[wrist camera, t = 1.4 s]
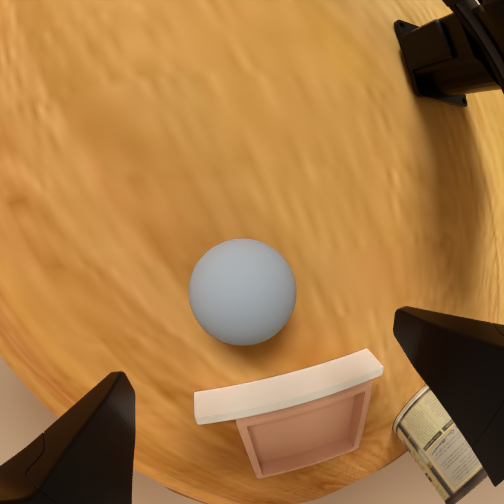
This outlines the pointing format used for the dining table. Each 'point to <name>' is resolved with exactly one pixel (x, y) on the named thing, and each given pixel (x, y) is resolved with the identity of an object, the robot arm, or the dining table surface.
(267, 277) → the ball
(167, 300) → the dining table surface
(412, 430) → the coffee can
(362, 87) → the dining table surface
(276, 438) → the dish
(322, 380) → the wall
